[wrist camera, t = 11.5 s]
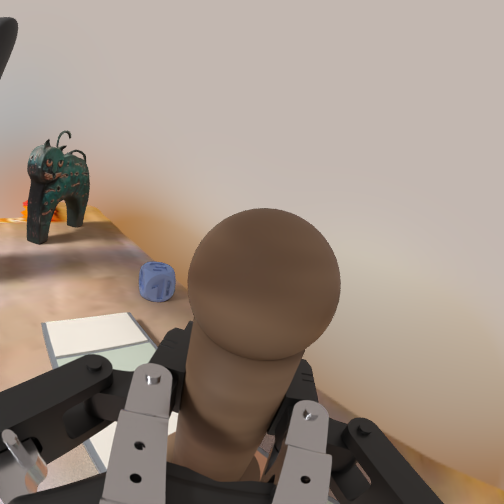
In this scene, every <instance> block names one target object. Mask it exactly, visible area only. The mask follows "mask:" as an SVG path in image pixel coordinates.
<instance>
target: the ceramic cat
mask: <svg viewBox="0 0 504 504" xmlns="http://www.w3.org/2000/svg"><path fill="white" fill-rule="evenodd" d="M63 133H67V134H68V135H69V138H71V133H70V132H69V131H63V132H61V133H60V135H59V137H58V140H57V148H55V147H51V146H50V143H49V141H50V140H49V139H48V140H47V141H46V142H45V144H44V145H41V146H38V147H36V148H35V149H34V150H33V151H32V153H31V155H30V158H29V161H28V168H27V169H28V174H29V176H30V179H31V187H30V192H29V198H28V207H27V209H28V217H27V240H28V241H30V242H33V243H36V244H41V243H44V242H46V241H47V239H48V233H49V227H50V222H51V219H52V216H53V214H54V211H55V208H56V206H57V204H58V203H59V202H60V201H62V200H63V199H64V200H65V203H66V206H67V225H68V226H72V227H80V226H81V225H82V224H83V219H84V214H85V210H86V206H87V202H88V197H89V189H90V188H89V187H90V186H89V185H90V182H89V171H88V167H87V164H86V156H85V154H84V153H83V152H82V151H79V150H73V151H71V152H69V153H67V154H65V155H64V154H63V152H62V150H63V149H64V148H65V147H66V146H61V147H58V143H59V139H60V137H61V135H62V134H63ZM73 152H79V153H81V154H82V155H83V157H84V160H83V159H81V158H78V157H76V156H74V155H72V153H73Z"/></svg>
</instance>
